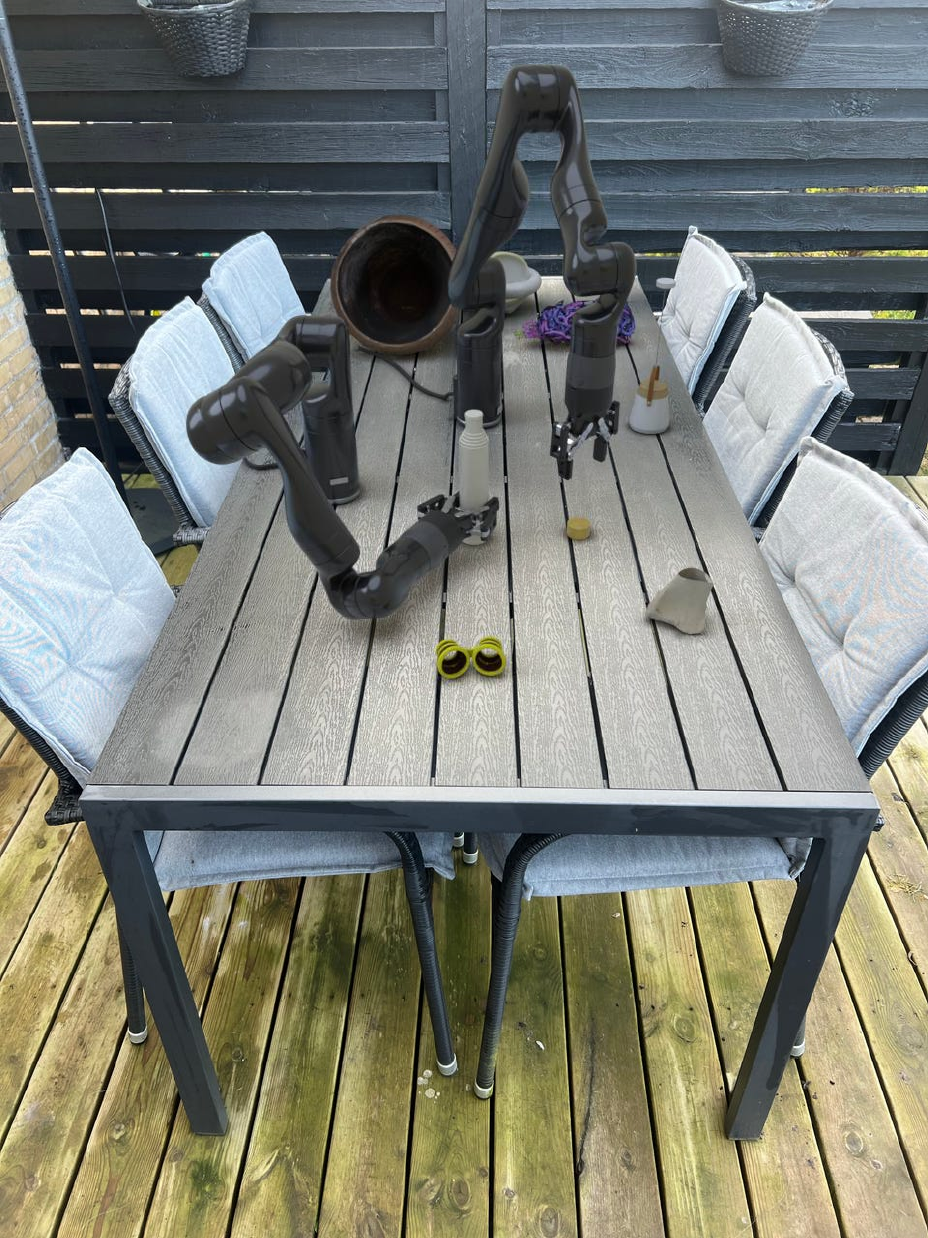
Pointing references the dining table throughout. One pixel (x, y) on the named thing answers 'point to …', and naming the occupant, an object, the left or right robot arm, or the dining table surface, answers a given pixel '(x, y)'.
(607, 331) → the right robot arm
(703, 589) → the grey flared hollow piece
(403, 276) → the pot
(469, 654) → the opera glasses
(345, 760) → the dining table surface
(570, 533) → the cap
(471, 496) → the bottle
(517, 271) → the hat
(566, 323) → the decorative ornament
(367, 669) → the dining table surface
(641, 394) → the pendant light
